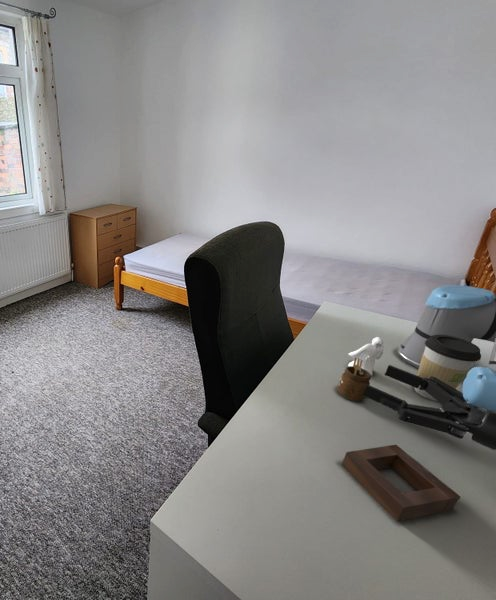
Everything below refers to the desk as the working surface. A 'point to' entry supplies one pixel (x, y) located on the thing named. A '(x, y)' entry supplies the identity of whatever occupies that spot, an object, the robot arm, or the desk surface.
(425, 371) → the coffee cup
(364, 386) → the utensil holder
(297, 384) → the desk surface
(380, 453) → the wooden frame
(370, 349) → the figurine
